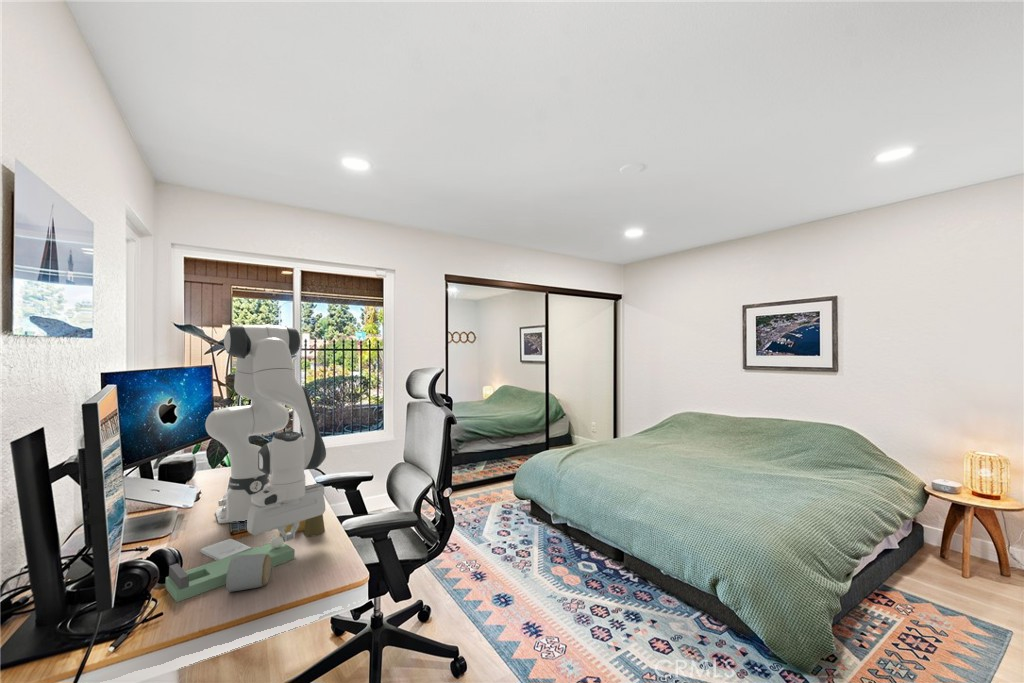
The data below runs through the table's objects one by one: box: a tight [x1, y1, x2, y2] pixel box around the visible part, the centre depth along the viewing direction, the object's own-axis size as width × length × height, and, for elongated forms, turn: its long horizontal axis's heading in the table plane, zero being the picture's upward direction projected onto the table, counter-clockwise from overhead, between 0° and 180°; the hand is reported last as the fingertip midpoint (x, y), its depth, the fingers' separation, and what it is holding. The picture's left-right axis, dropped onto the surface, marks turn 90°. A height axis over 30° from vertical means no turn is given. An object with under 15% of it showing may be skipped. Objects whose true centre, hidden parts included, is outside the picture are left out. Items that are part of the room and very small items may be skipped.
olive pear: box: [303, 513, 326, 537], centre depth 135 cm, size 6×6×11 cm
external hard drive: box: [199, 538, 253, 561], centre depth 122 cm, size 2×8×12 cm
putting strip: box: [165, 542, 296, 603], centre depth 110 cm, size 10×26×5 cm, turn 140°
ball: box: [270, 535, 285, 549], centre depth 118 cm, size 3×3×3 cm
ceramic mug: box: [225, 554, 272, 593], centre depth 104 cm, size 11×8×8 cm
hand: (288, 539), depth 120 cm, fingers closed
